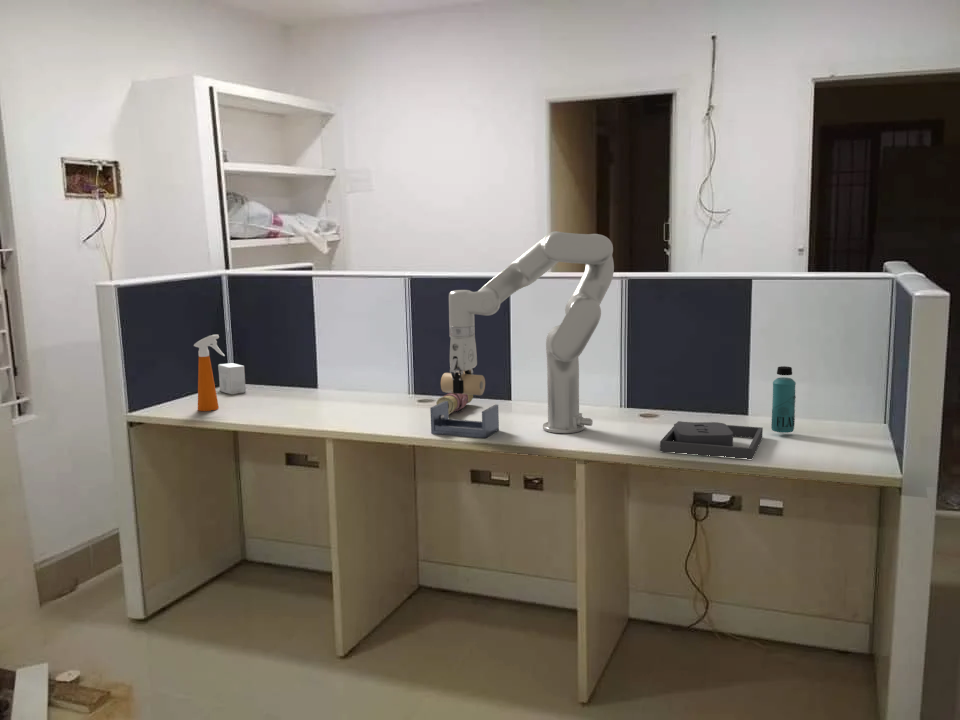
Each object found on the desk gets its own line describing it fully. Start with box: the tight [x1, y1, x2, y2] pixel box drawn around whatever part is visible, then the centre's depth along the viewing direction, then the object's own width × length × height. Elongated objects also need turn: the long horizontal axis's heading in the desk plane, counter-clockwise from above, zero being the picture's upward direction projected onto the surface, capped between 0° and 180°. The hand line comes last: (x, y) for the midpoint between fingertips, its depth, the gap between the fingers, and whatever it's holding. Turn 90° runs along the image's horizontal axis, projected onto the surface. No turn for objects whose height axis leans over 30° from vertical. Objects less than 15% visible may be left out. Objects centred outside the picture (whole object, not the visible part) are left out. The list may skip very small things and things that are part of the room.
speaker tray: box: [659, 421, 764, 460], centre depth 241 cm, size 24×24×3 cm
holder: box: [429, 401, 500, 439], centre depth 261 cm, size 18×10×8 cm, turn 66°
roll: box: [440, 372, 486, 396], centre depth 260 cm, size 12×6×6 cm, turn 66°
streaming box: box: [673, 421, 734, 447], centre depth 240 cm, size 14×14×5 cm
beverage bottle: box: [770, 365, 797, 434], centre depth 248 cm, size 6×7×20 cm
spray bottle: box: [193, 334, 226, 412], centre depth 301 cm, size 7×11×26 cm, turn 90°
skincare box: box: [217, 362, 247, 395], centre depth 332 cm, size 10×6×10 cm, turn 40°
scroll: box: [436, 393, 474, 416], centre depth 290 cm, size 8×8×20 cm
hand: (463, 390), depth 260 cm, fingers closed on roll, 6 cm apart
